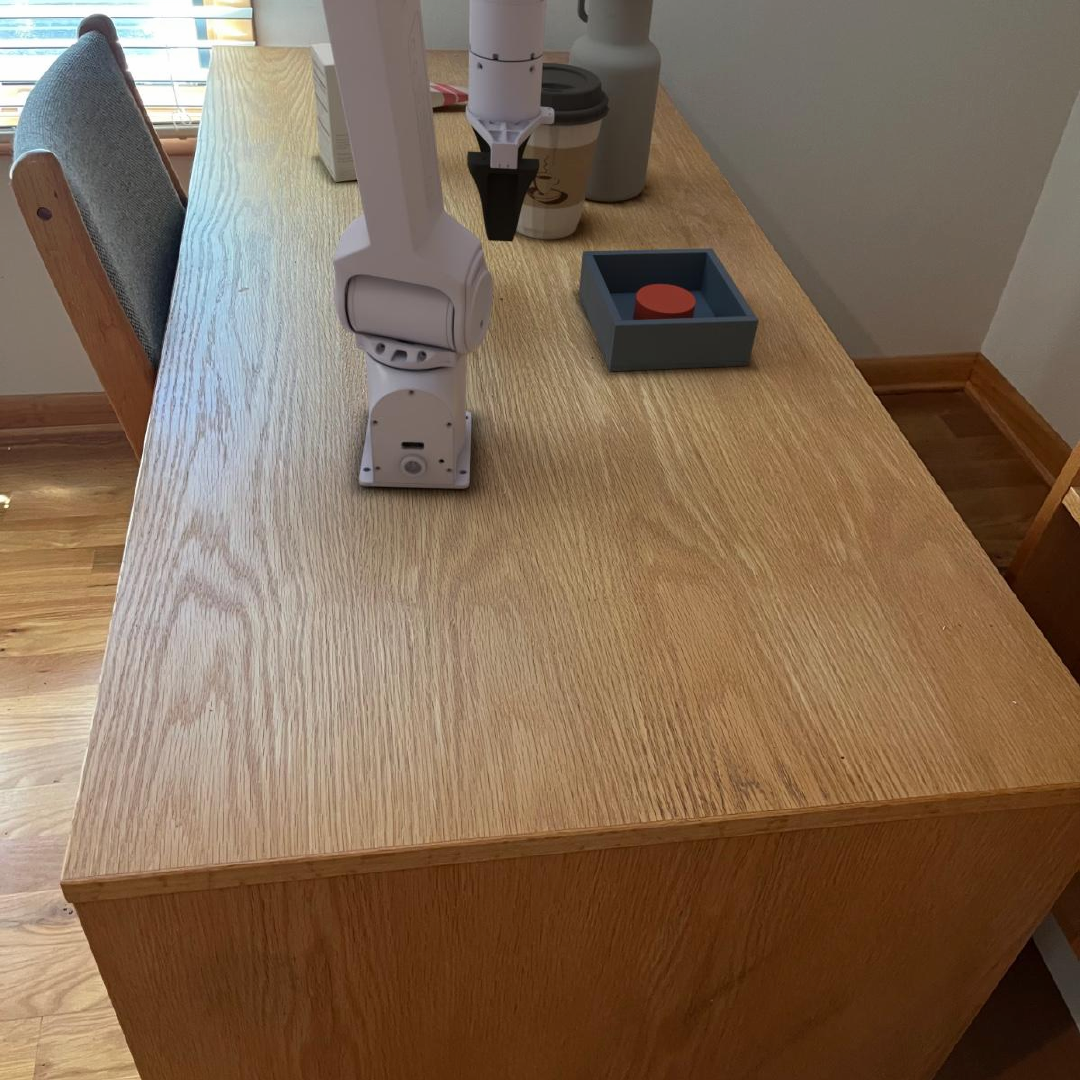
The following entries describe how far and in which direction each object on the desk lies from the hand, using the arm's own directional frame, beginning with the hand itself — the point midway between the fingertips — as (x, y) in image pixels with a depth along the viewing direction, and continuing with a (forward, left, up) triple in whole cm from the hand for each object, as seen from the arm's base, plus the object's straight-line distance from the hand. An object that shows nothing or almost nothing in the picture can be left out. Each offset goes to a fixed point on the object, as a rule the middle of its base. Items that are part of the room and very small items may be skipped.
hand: (500, 219), depth 88 cm
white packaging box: (+33, +16, -10) cm, 38 cm away
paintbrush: (+53, +11, -8) cm, 55 cm away
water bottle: (+31, -12, -10) cm, 35 cm away
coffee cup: (+20, -5, -10) cm, 23 cm away
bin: (-1, -15, -9) cm, 18 cm away
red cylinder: (-1, -15, -9) cm, 18 cm away
